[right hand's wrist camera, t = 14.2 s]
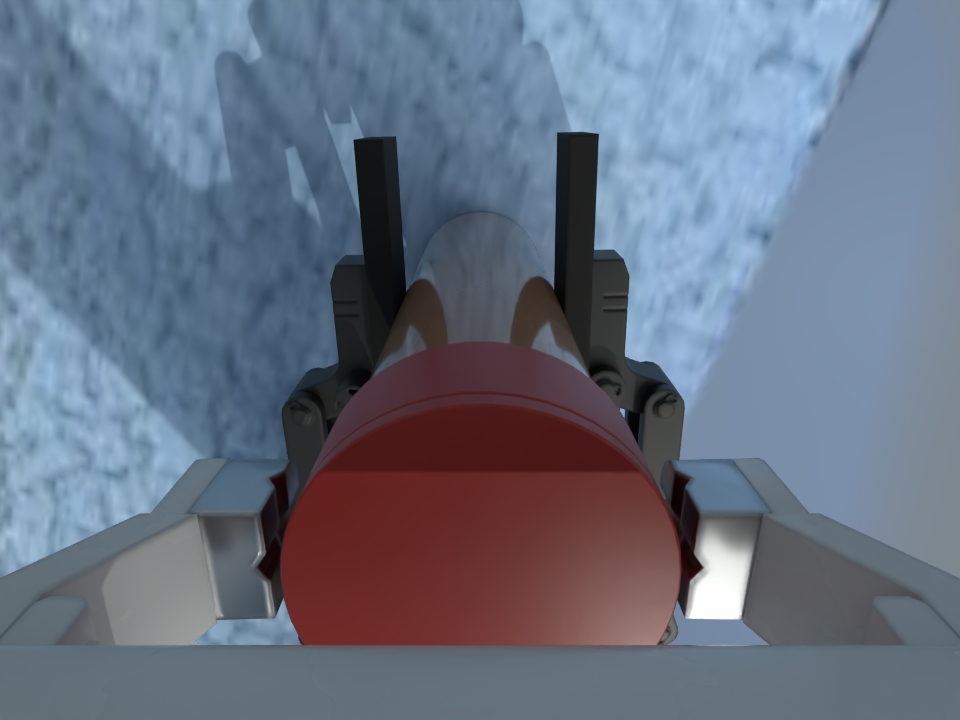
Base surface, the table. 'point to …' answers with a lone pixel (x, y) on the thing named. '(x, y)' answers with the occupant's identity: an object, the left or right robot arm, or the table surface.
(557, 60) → the table surface
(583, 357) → the left robot arm
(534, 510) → the lid
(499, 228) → the brown bottle
